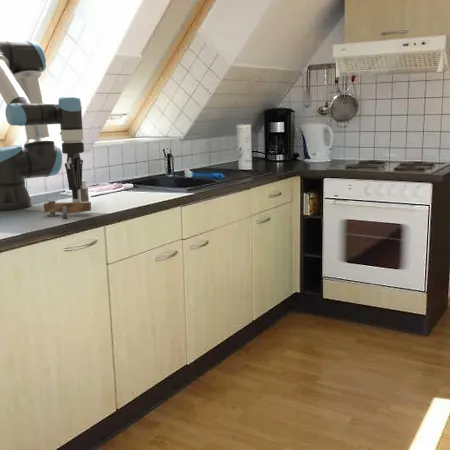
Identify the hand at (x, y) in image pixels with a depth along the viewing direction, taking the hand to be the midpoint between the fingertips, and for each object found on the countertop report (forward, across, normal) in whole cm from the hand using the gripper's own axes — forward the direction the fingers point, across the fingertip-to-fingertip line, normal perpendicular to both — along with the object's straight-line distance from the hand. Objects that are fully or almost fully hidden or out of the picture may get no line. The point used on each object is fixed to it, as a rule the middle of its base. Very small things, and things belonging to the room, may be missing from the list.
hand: (77, 207), depth 212 cm
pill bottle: (+3, -16, -4) cm, 17 cm away
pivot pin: (+2, +3, -8) cm, 9 cm away
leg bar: (+1, +2, -3) cm, 4 cm away
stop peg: (+2, +9, -1) cm, 10 cm away
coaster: (+2, -6, -4) cm, 7 cm away
